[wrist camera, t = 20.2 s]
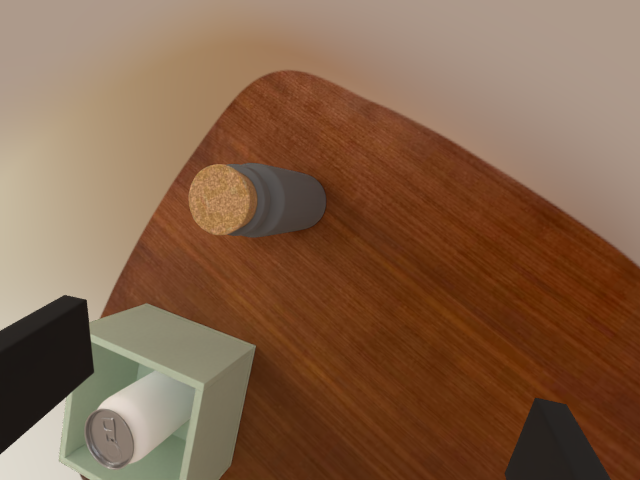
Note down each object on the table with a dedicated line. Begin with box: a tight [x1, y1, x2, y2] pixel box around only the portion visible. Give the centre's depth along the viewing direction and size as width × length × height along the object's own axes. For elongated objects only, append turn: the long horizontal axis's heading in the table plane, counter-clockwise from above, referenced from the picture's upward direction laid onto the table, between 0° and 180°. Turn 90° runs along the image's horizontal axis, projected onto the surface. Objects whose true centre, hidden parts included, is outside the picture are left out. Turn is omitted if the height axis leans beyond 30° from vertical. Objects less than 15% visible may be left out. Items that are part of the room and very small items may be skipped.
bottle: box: [189, 163, 326, 237], centre depth 32 cm, size 6×6×15 cm
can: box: [84, 370, 196, 470], centre depth 39 cm, size 6×6×12 cm
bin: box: [59, 303, 256, 480], centre depth 41 cm, size 16×16×10 cm
